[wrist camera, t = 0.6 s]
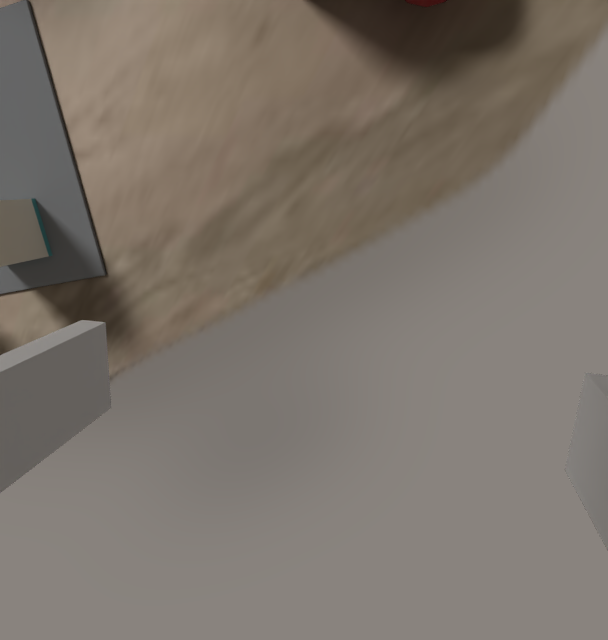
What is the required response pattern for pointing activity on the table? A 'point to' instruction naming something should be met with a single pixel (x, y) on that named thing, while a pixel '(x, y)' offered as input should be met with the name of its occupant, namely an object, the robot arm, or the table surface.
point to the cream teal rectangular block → (21, 232)
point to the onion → (425, 2)
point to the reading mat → (40, 160)
